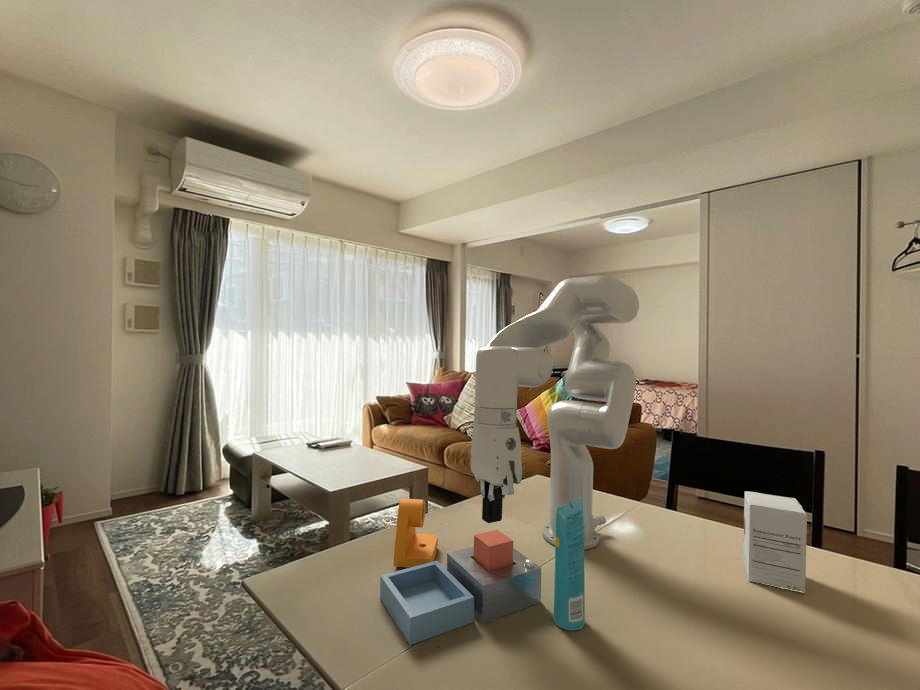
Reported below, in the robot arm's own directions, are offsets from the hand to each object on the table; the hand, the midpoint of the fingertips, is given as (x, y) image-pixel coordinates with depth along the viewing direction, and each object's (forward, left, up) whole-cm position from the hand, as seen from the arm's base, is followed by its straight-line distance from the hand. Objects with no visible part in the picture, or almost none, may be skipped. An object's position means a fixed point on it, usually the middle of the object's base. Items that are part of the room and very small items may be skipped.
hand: (491, 520), depth 76 cm
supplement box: (-52, +21, -14) cm, 58 cm away
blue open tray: (+12, -2, -13) cm, 18 cm away
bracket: (+6, -18, -14) cm, 24 cm away
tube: (-7, +12, -14) cm, 19 cm away
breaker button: (-1, 0, -10) cm, 10 cm away
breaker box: (-1, 0, -13) cm, 13 cm away
